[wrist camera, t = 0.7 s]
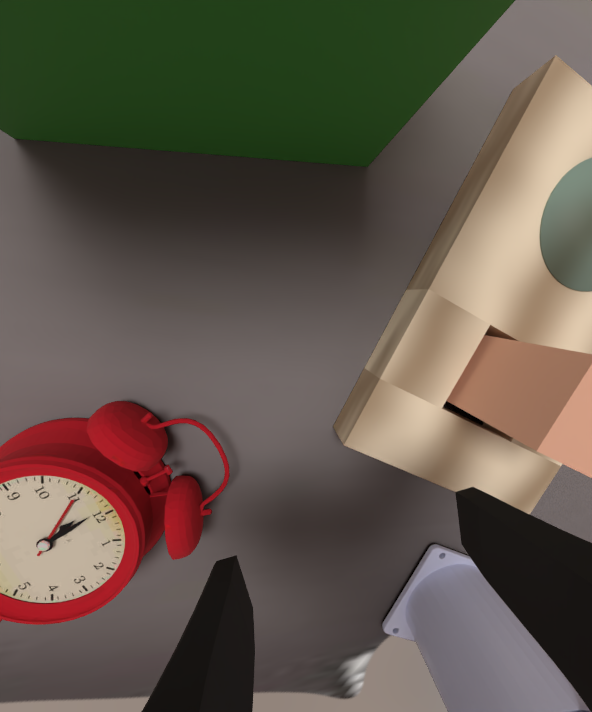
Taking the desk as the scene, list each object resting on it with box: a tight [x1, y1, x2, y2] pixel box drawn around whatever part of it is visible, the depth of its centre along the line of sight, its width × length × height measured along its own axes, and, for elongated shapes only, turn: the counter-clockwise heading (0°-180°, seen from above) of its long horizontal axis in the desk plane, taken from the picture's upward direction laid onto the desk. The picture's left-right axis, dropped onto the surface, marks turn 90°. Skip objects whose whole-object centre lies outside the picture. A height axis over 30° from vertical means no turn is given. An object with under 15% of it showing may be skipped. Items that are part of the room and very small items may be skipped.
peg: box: [446, 335, 592, 478], centre depth 17 cm, size 4×4×8 cm
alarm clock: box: [0, 401, 229, 624], centre depth 17 cm, size 10×6×15 cm
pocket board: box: [333, 56, 592, 514], centre depth 19 cm, size 14×22×3 cm, turn 153°
